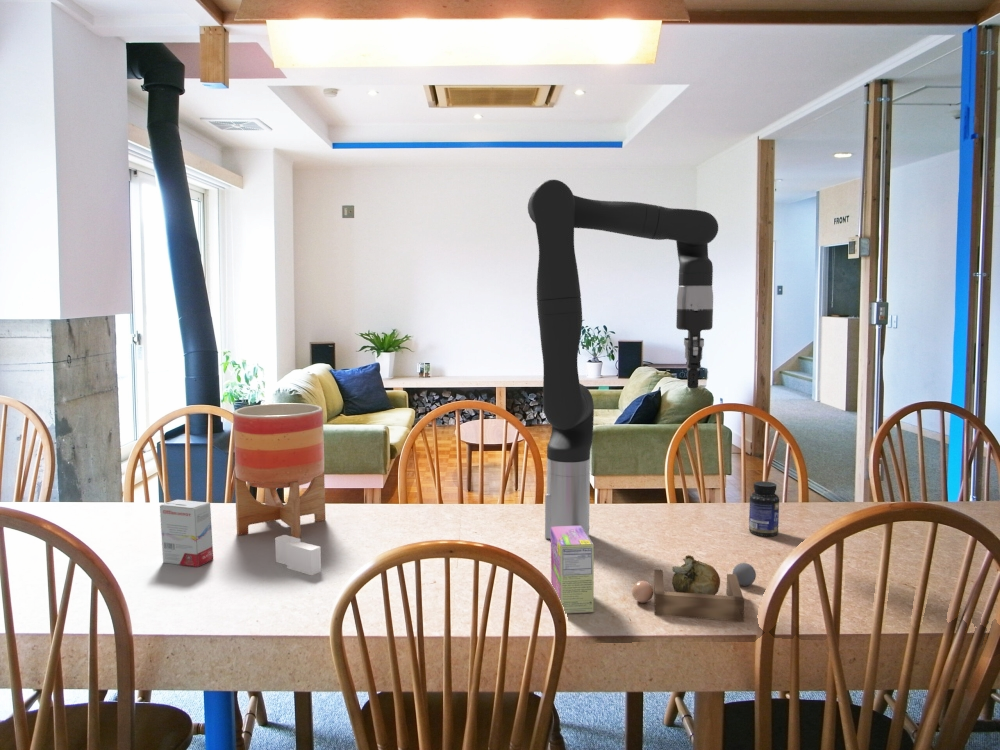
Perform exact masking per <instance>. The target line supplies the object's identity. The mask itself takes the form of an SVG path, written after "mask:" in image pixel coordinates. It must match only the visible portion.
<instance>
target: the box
mask: <svg viewBox="0 0 1000 750" xmlns="http://www.w3.org/2000/svg"><path fill="white" fill-rule="evenodd" d="M594 549H595V545H594V543H593V541H592V540H591V538H590V536H589V537H588V535H587V534H586V532H585V531H584V529H583V528H582V526H556V527H551V539H550V572H551V573H550V584H551V583H552V585H553V587H554V588H555V590H556V592H557V594H558V596H559V598H560V600H561V603H562V605H563V607H564V611H565V614H568V615H569V614H584V613H585V614H590V613H594V593H595V592H594V578H595V577H594V576H595V575H594V574H595V573H594V571H595V570H594V569H595V568H594V567H595V566H594V559H595V558H594V557H595V556H594V555H595V554H594V552H595V550H594ZM565 614H564V615H565Z"/></svg>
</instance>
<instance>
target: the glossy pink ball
mask: <svg viewBox="0 0 1000 750" xmlns="http://www.w3.org/2000/svg"><path fill="white" fill-rule="evenodd" d="M631 595H632V597H633V599H634V600H635V601H637V602H638V603H642V604H645V603H649V601H651V600H652V599H653V597H654V587H653V586H652V585H651V584H650V583H649V582H648V581H646V580H638V581H636V582H635V583H634V584H633V586H632V588H631Z"/></svg>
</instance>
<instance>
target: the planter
mask: <svg viewBox="0 0 1000 750" xmlns="http://www.w3.org/2000/svg"><path fill="white" fill-rule="evenodd" d="M323 411H324V410H323V408H322V407H321V406H320V405H316V404H310V403H298V402H297V403H293V402H291V403H290V402H288V403H287V402H284V403H283V402H282V403H281V402H280V403H267V404H256V405H249V406H244V407H240V408H237V409H235V410H234V411H233V413H232V414H233V415H232V416H233V417H232V418H233V419H232V420H233V421H232V423H233V439H234V440H233V441H234V464H235V466H234V468H235V477H236V478H234V492H235V494H234V495H235V518H236V519H235V521H236V534H237V535H238V536H243V535H244V536H245V535H249V526H250V525H256V524H261V523H262V524H263V523H267V522H272V521H278V520H279V521H282V522H283V523H284V524H286V525H287V526H288V527H289V528H290V536H292V537H295V538H299V539H301V537H302V534H301V532H302V530H301V529H302V527H301V517H302V516H303V517H304V516H309V515H314V521H315V522H322V521H326V495H325V494H326V493H325V492H326V491H325V489H326V488H325V486H326V485H325V446H324V445H325V444H324V412H323ZM306 484H309V485H308V487H307V488H306V490H304V492H303V493H302V494H301V495H300V486H302V485H303V486H304V485H306ZM248 485H249V486H250V487H254V488H259V489H264V503H262V502H261V501H258V500H257V499H255V497H254V496H253V495H252V493H251V491H250V490H249V488H248ZM285 488H286V489H287V488H289V490H288V498H287V501H286V504H284V503H283V502H282V500H281V499H280V496H279V494H278V491H277V489H285Z"/></svg>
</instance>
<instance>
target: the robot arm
mask: <svg viewBox="0 0 1000 750" xmlns="http://www.w3.org/2000/svg"><path fill="white" fill-rule="evenodd" d="M527 213H528V214H529V218H530V219H531V221H532V222H533V223H534V225H535V229H536V236H537V237H536V238H537V244H538V265H537V275H536V276H537V277H536V305H537V315H538V325H539V337H540V347H541V354H542V363H543V364H542V365H543V379H542V380H543V381H542V382H543V383H542V386H543V387H542V409H543V413H544V416H545V418H546V420H547V422H548V423H549V424H550V425H551V434H550V438H549V441H548V444H547V447H546V493H545V496H544V497H545V498H544V500H545V501H544V502H545V503H544V538H545V539H549V540H551V527H556V526H582V528H583V529H584V531H585V532H586V534H587V535H588V537H589V538H590V505H591V504H590V489H591V485H590V483H591V482H590V481H591V472H590V471H591V449H592V445H593V438H594V416H595V415H594V414H595V410H594V409H595V407H594V399H593V395H592V394H591V392H590V389H588V388H587V387H586V386H585V385H584V384H582V383H580V378H579V377H580V376H579V370H578V357H579V355H578V354H579V349H580V344H581V343H580V342H581V337H582V330H583V329H582V328H583V307H582V306H583V305H582V294H581V287H580V286H581V285H580V278H579V269H578V264H577V259H576V251H575V229H586V230H595V231H596V230H597V231H603V232H608V233H615V234H619V235H624V236H625V235H626V236H631V237H636V238H643V239H649V240H656V241H658V240H659V241H662V240H668V241H669V240H670V241H675V242H676V251H677V258H678V263H679V266H678V267H679V269H678V289H677V295H676V320H675V321H676V323H675V325H676V329H677V330H682V331H687V337H684V338H683V345H684V358H685V359H686V362H685V364H686V370H687V378H686V379H687V384H686V385H687V388H689V389H698V387H699V372H700V370H701V362H702V360H703V349H704V347H705V346H704V345H705V339H704V338H703V337H701V333H702V331H710V330H712V329H713V321H714V319H713V318H714V292H713V291H714V290H713V277H714V276H713V274H714V273H713V272H714V271H713V270H714V268H713V267H714V266H713V262H712V260H711V259H710V258H709V248H708V247H709V246H708V245H709V243H711V242H712V241H713V240H714V239H715V238H716V236H718V232H719V223H718V221H717V219H716V217H715V216H714V215H712V214H711V213H710V212H707V211H704V210H698V209H689V208H688V209H687V208H672V207H671V208H670V207H665V206H662V205H656V204H652V203H651V204H649V203H644V202H636V201H623V200H622V201H618V200H615V201H614V200H612V201H611V200H598V199H590V198H585V197H581V196H577V195H575V194H574V193H573V191H572V190H571V188H570V187H569V186H568V185H567V184H566V183H565V182H563V181H561V180H558V179H548V180H546V181H543V182H541V183H539V185H538V186H537V187H535V189H534V190H533V192H532V193H531V195H530V196H529V198H528V204H527Z"/></svg>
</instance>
